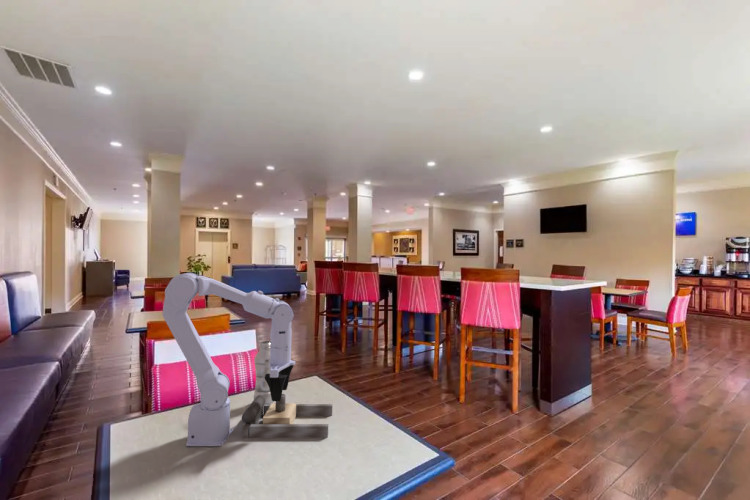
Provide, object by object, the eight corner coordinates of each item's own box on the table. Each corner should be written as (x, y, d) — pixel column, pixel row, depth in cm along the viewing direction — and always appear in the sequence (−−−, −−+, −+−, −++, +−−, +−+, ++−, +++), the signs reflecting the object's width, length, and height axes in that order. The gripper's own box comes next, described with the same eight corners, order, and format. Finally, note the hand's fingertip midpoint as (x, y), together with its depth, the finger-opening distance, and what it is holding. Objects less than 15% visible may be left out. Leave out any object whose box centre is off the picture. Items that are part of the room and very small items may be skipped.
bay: (238, 442, 89) (239, 414, 89) (255, 417, 103) (256, 393, 103) (329, 442, 90) (329, 414, 90) (333, 417, 104) (334, 393, 104)
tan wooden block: (262, 433, 92) (263, 402, 92) (271, 417, 101) (272, 389, 101) (289, 432, 92) (290, 402, 92) (295, 417, 101) (296, 389, 101)
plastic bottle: (271, 409, 109) (273, 344, 109) (250, 408, 109) (251, 344, 109) (277, 400, 115) (279, 340, 115) (257, 400, 115) (258, 339, 116)
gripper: (289, 353, 90) (288, 406, 89) (300, 339, 104) (299, 385, 104) (262, 352, 89) (260, 406, 89) (276, 339, 104) (275, 385, 103)
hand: (279, 395), depth 96 cm, fingers open, 7 cm apart
